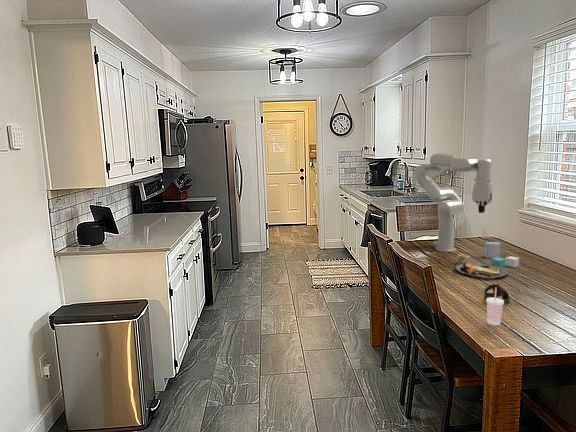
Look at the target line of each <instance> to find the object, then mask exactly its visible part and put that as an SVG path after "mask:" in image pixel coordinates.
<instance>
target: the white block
mask: <svg viewBox="0 0 576 432" xmlns="http://www.w3.org/2000/svg"><path fill="white" fill-rule="evenodd" d="M504 259H505V267H511V268H517V267H519V266H520V257H516V256H511V255H510V256H506V257H505V258H504Z"/></svg>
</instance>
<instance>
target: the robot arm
mask: <svg viewBox="0 0 576 432" xmlns="http://www.w3.org/2000/svg"><path fill="white" fill-rule="evenodd" d="M446 169H449V170H451V171H456V172H463V173H471V172H473V173H474V172H476V176H475V178H474V179H473V180H474V181H475V182H474V184H473V188H472V192H471V193H472V194H471V195H472V196H471V199H472V202H474V203H476V204H477V206H478V213H479V214H483V213H485V211H486V206H487V205H488V204H491V203H492V200H493V187H492V183H491V179H492V178H491V176H492V160H491V159H487V158H458V157H457V156H456V155H454V154H453V155H452V154H449V153H446V152H445V153H444V152H441V153H439V152H438V153H434V154H433V155H431V156H430V158H429V163H423V164H421V165H418V166H416V168H415V169H414V179H415V181H416V183H417V184H418V185H419V186H420V188H422V189H423V191H424V192H425V194H426V195H427V196H428V198H430V200H431V201H432V202H434V203H436V204H437V203H439V204H438V205H437V215H438V230H437V231H438V233H437V240H434V241H433V242H432V245H435V247H434V249H435V250H436V251H439V252H442V253H443V252H445V253H448V252H449V253H450V252H452V253H453V252H456V251H457V248H456V247H455V245H454V244H455V243H454V241H455V223H456V221H455V218H454V216H453V215H458V214H462V213H463V212H464V210H465V205H464V203H463V201H462V199H461V198H460V197H459V196H458V195H457V194H456V192H455V191H454V190H453V189H452V188H450V187H447V186H446V187H440V186H439V185H438V184H437V183H436V182H435V181H434V180H433V179H431V177H432V178H434V177H437V176H439V175H440V174H441V173H442V172H444V171H445V170H446Z"/></svg>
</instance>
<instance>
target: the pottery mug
mask: <svg viewBox="0 0 576 432" xmlns="http://www.w3.org/2000/svg"><path fill="white" fill-rule="evenodd" d="M495 287H497V290H496V298H499V297H502V298H501V299H502V300H506V301H507V303H508V304H510V303H511V301H510V296H509V293H508V291H507V289H505V288H504V287H502V286H501V285H500V284H499V283H494V284H493V283H492V284H491V285H488V286H486V287H485V288H484V291H483V293H484V296H483V297H484V300H486V299H487V298H489V297H494V298H495ZM490 290H492V291H493V292H491V293H490V292H488V291H490Z"/></svg>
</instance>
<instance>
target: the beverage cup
mask: <svg viewBox="0 0 576 432" xmlns="http://www.w3.org/2000/svg"><path fill="white" fill-rule="evenodd" d="M496 290H497V287H495V298H494V297H489V298H487V299H486V323H488V324H489V325H492V326H499V325H501V321H502V315H503V306H504V304H505V299H502V298H499V297H498V298H496Z"/></svg>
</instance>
